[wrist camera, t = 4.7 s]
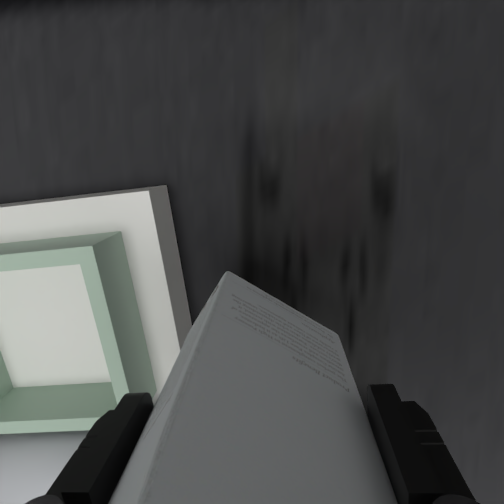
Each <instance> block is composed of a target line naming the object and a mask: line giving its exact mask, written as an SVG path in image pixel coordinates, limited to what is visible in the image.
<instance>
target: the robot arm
mask: <svg viewBox="0 0 504 504" xmlns="http://www.w3.org/2000/svg"><path fill="white" fill-rule="evenodd" d="M367 398H368V420H369V423H370V426H371V429H372V432H373V435H374V438H375V440H376V443H377V446H378V449H379V451H380V454H381V457H382V460H383V463H384V465H385V468H386V471H387V474H388V477H389V479H390V482H391V485H392V488H393V491H394V494H395V497H396V500H397V503H398V504H480V503H479V502H477V501H476V500H475V498H474V497H473V495H472V493H471V491H470V490H469V488H468V486H467V484H466V482H465V480H464V479H463V477H462V475H461V473H460V471H459V469H458V467H457V466H456V464H455V462H454V460H453V458H452V456H451V455H450V453H449V451H448V449H447V447H446V445H444V442H443V440H442V438H441V436H440V434H439V432H437V429H436V427H435V425H434V423H433V421H432V420H431V418H430V416H429V414H428V413H427V412H426V411H425V410H424V409H422V408H421V407H420V406H419V405H418V404H417V403H416V402H415V401H403V402H401V399H400V397H399V395H398V393H397V391H396V389H395V387H394V385H393V384H377V385H368V387H367ZM153 408H154V405H153V401H152V397H151V395H150V393H148V392H143V393H126V394H125V395H124V396H123V397H122V399H121V400H120V402H119V403H118V405H117V406H116V408H115V410H109V411H107V412H106V413H105V414H104V415H103V416H102V417H100V418H99V419H98V420H97V421H96V422H95V423H94V425H93V426H92V427H91V429H90V430H89V432H88V433H87V435H86V438H84V439H83V441H82V442H81V443H80V445H79V446H78V450H76V451H75V452H74V454H73V455H72V456H71V458H70V459H69V461H68V462H67V464H66V465H65V467H64V468H63V470H62V471H61V472H60V474H59V475H58V477H57V478H56V480H55V481H54V483H53V484H52V486H51V487H50V488H49V490H48V491H47V493H46V494H45V495H43V496H39V497H36V498H34V499H32V500H30V501H28V502H27V503H25V504H108V503H109V501H110V499H111V497H112V494H113V492H114V490H115V488H116V486H117V484H118V482H119V480H120V478H121V476H122V473H123V471H124V469H125V467H126V465H127V463H128V461H129V459H130V457H131V454H132V452H133V450H134V448H135V446H136V444H137V442H138V440H139V437H140V435H141V433H142V431H143V429H144V427H145V425H146V422H147V420H148V418H149V416H150V414H151V412H152V410H153Z"/></svg>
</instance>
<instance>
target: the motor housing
mask: <svg viewBox="0 0 504 504" xmlns="http://www.w3.org/2000/svg"><path fill="white" fill-rule="evenodd" d="M117 231H121V234H122V238H123V243H124V247H125V252H126V256H127V260H128V265H129V269H130V274H131V278H132V283H133V287H134V291H135V296H136V300H137V305H138V309H139V314H140V318H141V322H142V327H143V331H144V336H145V340H146V345H147V349H148V353H149V358H150V362H151V367H152V371H153V376H154V380H155V384H156V389H157V391H156V393H155V395H154V397H153V399H152V401H153V405H154V406H155V403H156V401H157V399H158V397H159V395H160V393H161V391H162V389H163V387H164V385H165V382H166V380H167V378H168V376H169V374H170V372H171V370H172V368H173V365H174V363H175V361H176V359H177V357H178V355H179V353H180V351H181V349H182V346H183V344H184V341H185V339H186V336H187V334H188V333H189V331H190V329H191V327H192V322H191V317H190V311H189V306H188V300H187V295H186V289H185V284H184V278H183V273H182V267H181V262H180V256H179V251H178V245H177V240H176V234H175V229H174V223H173V218H172V212H171V207H170V201H169V196H168V190H167V185H163V186H154V187H145V188H137V189H128V190H119V191H111V192H102V193H93V194H85V195H76V196H67V197H59V198H50V199H41V200H33V201H24V202H15V203H7V204H0V244H1V243H10V242H20V241H30V240H39V239H49V238H59V237H69V236H78V235H88V234H98V233H107V232H117ZM0 351H1V354H2V357H3V360H4V362H5V365H6V368H7V371H8V374H9V376H10V379H11V382H12V385H13V388H16V387H33V386H51V385H68V384H85V383H103V382H111V379H110V375H109V372H108V368H107V364H106V360H105V356H104V353H103V349H102V345H101V341H100V338H99V334H98V330H97V326H96V323H95V319H94V315H93V311H92V308H91V304H90V300H89V296H88V293H87V289H86V285H85V281H84V277H83V274H82V270H81V266H80V264H76V265H66V266H55V267H44V268H34V269H23V270H13V271H2V272H0ZM88 432H89V430H84V431H61V432H38V433H15V434H0V504H25V503H27V502H28V501H30V500H32V499H34V498H36V497H39V496H43V495H45V494H46V493H47V491H48V490H49V488H50V487H51V486H52V484H53V483H54V481H55V480H56V478H57V477H58V475H59V474H60V472H61V471H62V470H63V468H64V467H65V465H66V464H67V462H68V461H69V459H70V458H71V456H72V455H73V454H74V452H75V451H76V450H78V446H79V445H80V443H81V442H82V441H83V439H84V438H86V435H87V433H88Z"/></svg>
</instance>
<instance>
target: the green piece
mask: <svg viewBox="0 0 504 504" xmlns="http://www.w3.org/2000/svg"><path fill="white" fill-rule="evenodd" d="M76 264H80V266H81V270H82V274H83V277H84V281H85V285H86V289H87V293H88V296H89V300H90V304H91V308H92V311H93V315H94V319H95V323H96V326H97V330H98V334H99V338H100V341H101V345H102V349H103V353H104V356H105V360H106V364H107V368H108V372H109V375H110V379H111V382H103V383H85V384H68V385H51V386H33V387H16V388H13V385H12V382H11V379H10V376H9V374H8V371H7V368H6V365H5V362H4V360H3V357H2V354H1V351H0V434H15V433H38V432H61V431H84V430H90V429H91V427H92V426H93V425H94V423H95V422H96V421H97V420H98V419H99V418H100V417H102V416H103V415H104V414H105V413H106V412H107V411H109V410H115V408H116V406H117V405H118V403H119V402H120V400H121V399H122V397H123V396H124V395H125V394H126V393H143V392H148V393H150V395H151V397H152V399H153V397H154V395H155V393H156V391H157V389H156V384H155V380H154V376H153V371H152V367H151V362H150V358H149V353H148V349H147V345H146V340H145V336H144V331H143V327H142V322H141V318H140V314H139V309H138V305H137V300H136V296H135V291H134V287H133V283H132V278H131V274H130V269H129V265H128V260H127V256H126V252H125V247H124V243H123V238H122V234H121V231H117V232H107V233H98V234H88V235H78V236H69V237H59V238H49V239H39V240H30V241H20V242H10V243H1V244H0V272H2V271H13V270H23V269H34V268H44V267H55V266H66V265H76Z"/></svg>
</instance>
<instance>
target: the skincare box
mask: <svg viewBox="0 0 504 504" xmlns="http://www.w3.org/2000/svg"><path fill="white" fill-rule="evenodd" d="M108 504H398V503H397V500H396V497H395V494H394V491H393V488H392V485H391V482H390V479H389V477H388V474H387V471H386V468H385V465H384V463H383V460H382V457H381V454H380V451H379V449H378V446H377V443H376V440H375V438H374V435H373V432H372V429H371V426H370V423H369V420H368V417H367V415H366V412H365V409H364V406H363V403H362V401H361V398H360V395H359V392H358V389H357V386H356V384H355V381H354V379H353V376H352V373H351V370H350V367H349V364H348V361H347V358H346V355H345V353H344V350H343V347H342V344H341V341H340V339H339V336H338V334H336V333H335V332H333V331H331V330H330V329H328V328H326V327H324V326H323V325H321V324H319V323H317V322H316V321H314V320H312V319H311V318H309V317H307V316H305V315H304V314H302V313H300V312H299V311H297V310H295V309H294V308H292V307H290V306H288V305H287V304H285V303H283V302H282V301H280V300H278V299H276V298H275V297H273V296H271V295H270V294H268V293H266V292H264V291H263V290H261V289H259V288H257V287H256V286H254V285H252V284H251V283H249V282H247V281H245V280H244V279H242V278H240V277H239V276H237V275H235V274H233V273H232V272H229V271H227V272H225V274H224V275H223V277H222V278H221V280H220V282H219V283H218V285H217V286H216V288H215V290H214V291H213V293H212V294H211V296H210V298H209V299H208V301H207V303H206V304H205V306H204V307H203V309H202V311H201V312H200V314H199V316H198V317H197V319H196V321H195V322H194V324H193V326H192V327H191V329H190V331H189V333H188V334H187V336H186V339H185V341H184V344H183V346H182V349H181V351H180V353H179V355H178V357H177V359H176V361H175V363H174V365H173V368H172V370H171V372H170V374H169V376H168V378H167V380H166V382H165V385H164V387H163V389H162V391H161V393H160V395H159V397H158V399H157V401H156V403H155V406H154V408H153V410H152V412H151V414H150V416H149V418H148V420H147V422H146V425H145V427H144V429H143V431H142V433H141V435H140V437H139V440H138V442H137V444H136V446H135V448H134V450H133V452H132V454H131V457H130V459H129V461H128V463H127V465H126V467H125V469H124V471H123V473H122V476H121V478H120V480H119V482H118V484H117V486H116V488H115V490H114V492H113V494H112V497H111V499H110V501H109V503H108Z"/></svg>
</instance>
